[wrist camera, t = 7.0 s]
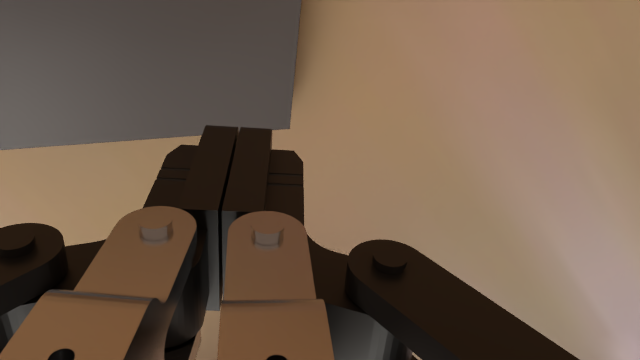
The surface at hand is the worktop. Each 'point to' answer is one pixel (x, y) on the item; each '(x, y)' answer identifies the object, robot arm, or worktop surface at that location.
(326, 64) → the worktop surface
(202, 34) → the domino
